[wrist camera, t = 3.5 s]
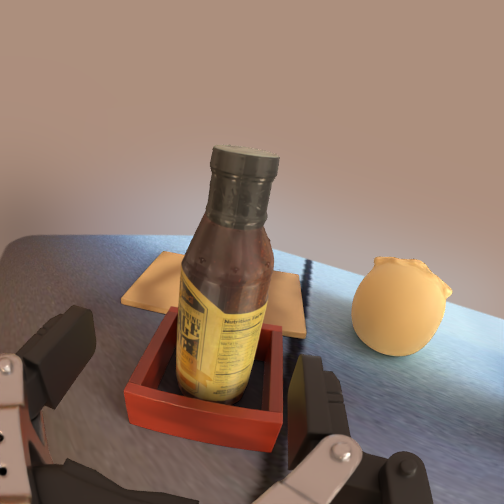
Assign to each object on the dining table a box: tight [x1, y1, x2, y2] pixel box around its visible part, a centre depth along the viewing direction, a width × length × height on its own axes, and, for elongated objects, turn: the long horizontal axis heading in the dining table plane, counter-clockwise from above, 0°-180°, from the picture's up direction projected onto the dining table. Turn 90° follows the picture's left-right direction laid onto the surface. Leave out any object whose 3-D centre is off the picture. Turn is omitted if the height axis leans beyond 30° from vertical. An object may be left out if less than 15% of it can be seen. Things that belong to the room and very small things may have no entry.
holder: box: [124, 306, 283, 452], centre depth 25 cm, size 11×12×4 cm
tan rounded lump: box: [351, 257, 452, 356], centre depth 35 cm, size 12×12×11 cm
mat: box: [121, 251, 306, 339], centre depth 42 cm, size 22×16×1 cm
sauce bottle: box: [176, 145, 279, 405], centre depth 22 cm, size 7×6×20 cm
